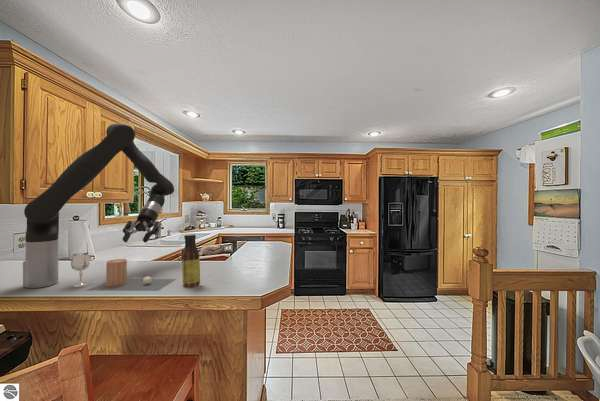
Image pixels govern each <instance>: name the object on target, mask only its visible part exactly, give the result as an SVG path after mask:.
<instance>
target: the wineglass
mask: <svg viewBox="0 0 600 401" xmlns="http://www.w3.org/2000/svg"><path fill="white" fill-rule="evenodd" d="M90 265H91V259H90V254H89V253H88V252H81V253H74V254H73V255H72V256H71V260H70V267H71V269H72V270H74V271H78V276H79V282H78V283H77V284H76V283H75V284H73V286H72V287H74V288H78V287H79V288H80V287H85V286H88V284H89V283H88V282H83V281H82V279H83V278H82V276H83V271H85V270H87V269H89V267H90Z"/></svg>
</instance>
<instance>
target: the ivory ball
mask: <svg viewBox="0 0 600 401" xmlns="http://www.w3.org/2000/svg"><path fill="white" fill-rule="evenodd" d="M142 279H143V283H144V284H146V285H147V284H150V283H151V281H152V279H153V278H152V277H151V276H145V277H144V278H142Z"/></svg>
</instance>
